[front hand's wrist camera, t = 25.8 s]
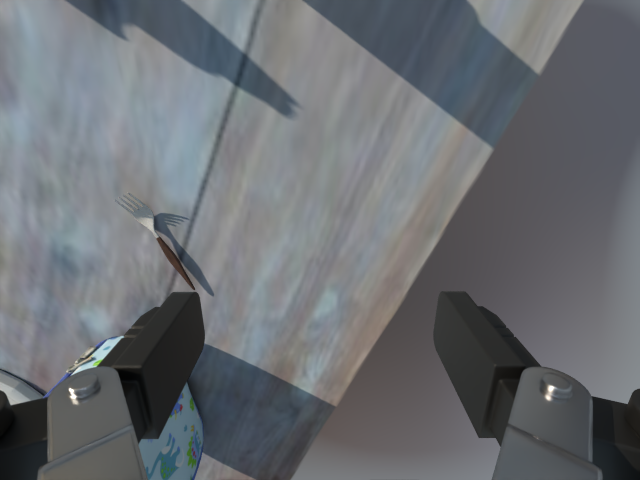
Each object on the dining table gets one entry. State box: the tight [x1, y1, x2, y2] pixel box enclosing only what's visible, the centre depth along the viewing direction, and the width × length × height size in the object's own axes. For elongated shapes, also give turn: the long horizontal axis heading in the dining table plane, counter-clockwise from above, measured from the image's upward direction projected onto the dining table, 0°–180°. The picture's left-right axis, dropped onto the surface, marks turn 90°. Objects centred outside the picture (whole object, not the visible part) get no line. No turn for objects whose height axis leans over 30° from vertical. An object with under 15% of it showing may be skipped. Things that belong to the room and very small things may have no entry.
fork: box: [114, 192, 195, 290], centre depth 46 cm, size 3×16×2 cm, turn 26°
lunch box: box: [43, 336, 204, 480], centre depth 46 cm, size 26×11×21 cm, turn 10°
